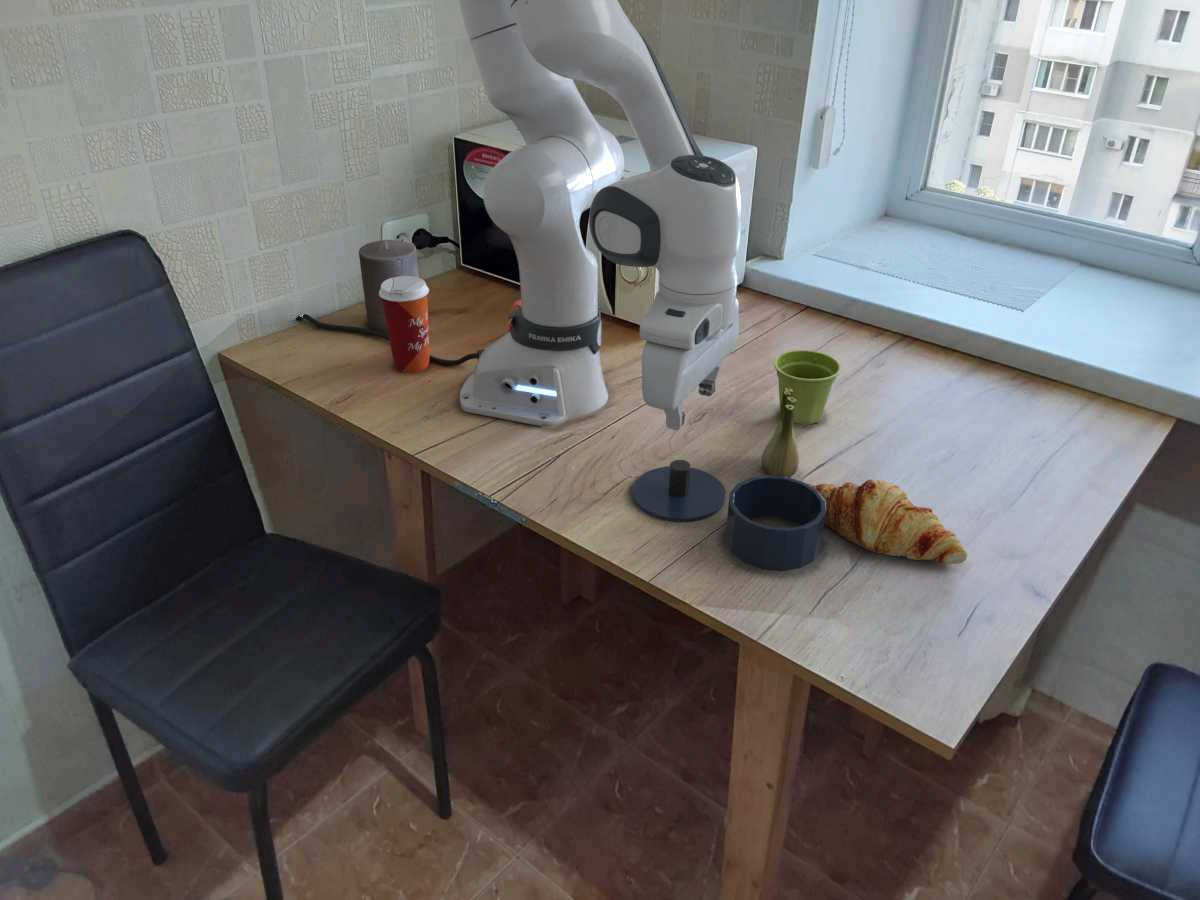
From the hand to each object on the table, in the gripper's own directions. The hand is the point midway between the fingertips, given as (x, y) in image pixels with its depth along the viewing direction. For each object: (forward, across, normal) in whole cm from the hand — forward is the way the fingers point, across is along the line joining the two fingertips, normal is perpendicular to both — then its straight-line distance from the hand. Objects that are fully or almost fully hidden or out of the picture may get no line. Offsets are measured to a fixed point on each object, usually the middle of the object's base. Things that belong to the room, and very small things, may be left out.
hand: (691, 409), depth 117 cm
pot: (+13, +4, +13) cm, 19 cm away
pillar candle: (+12, -24, -67) cm, 73 cm away
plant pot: (+13, -27, +6) cm, 31 cm away
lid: (+12, +1, -1) cm, 12 cm away
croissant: (+14, -4, +24) cm, 28 cm away
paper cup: (+12, -13, -55) cm, 58 cm away
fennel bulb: (+13, -11, +8) cm, 19 cm away
